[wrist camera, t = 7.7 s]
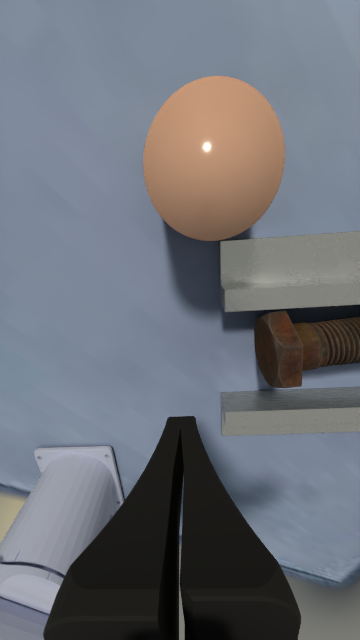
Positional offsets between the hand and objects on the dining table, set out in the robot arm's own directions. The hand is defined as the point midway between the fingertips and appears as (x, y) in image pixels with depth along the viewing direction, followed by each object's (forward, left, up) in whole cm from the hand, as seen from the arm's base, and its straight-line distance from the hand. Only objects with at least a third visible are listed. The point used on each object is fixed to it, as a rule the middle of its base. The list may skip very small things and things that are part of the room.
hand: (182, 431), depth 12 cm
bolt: (+2, -13, -9) cm, 16 cm away
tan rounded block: (+12, -2, -9) cm, 15 cm away
